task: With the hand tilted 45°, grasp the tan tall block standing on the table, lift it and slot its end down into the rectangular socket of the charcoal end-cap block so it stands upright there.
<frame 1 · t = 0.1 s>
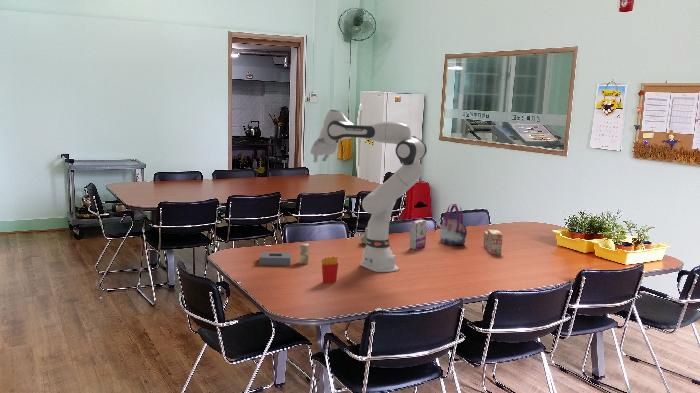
hand: (319, 161, 323), 52 cm above the table, tool tilted 20°, fingers open, 8 cm apart
air freshener: (369, 244, 360), on the table
beige boxy piece: (491, 250, 357), on the table
candy bar box: (417, 248, 355), on the table
handbag: (452, 243, 371), on the table
french fries: (329, 282, 278), on the table
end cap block: (275, 262, 309), on the table
tan tall block: (303, 262, 310), on the table
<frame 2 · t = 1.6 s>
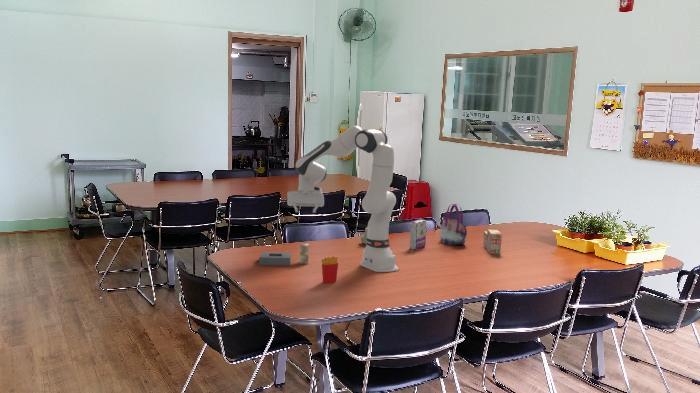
hand: (305, 211, 319), 25 cm above the table, tool tilted 45°, fingers open, 8 cm apart
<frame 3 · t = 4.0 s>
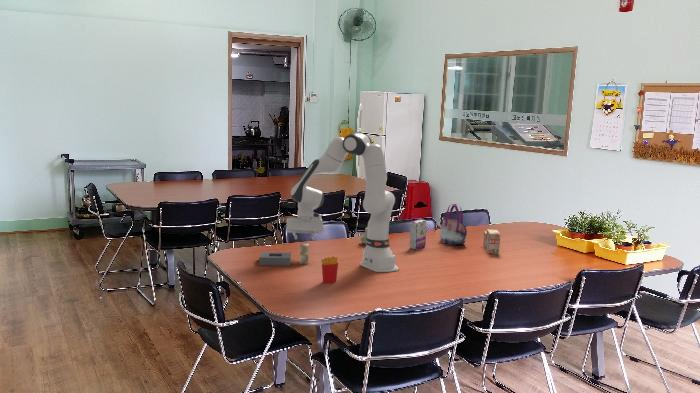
hand: (304, 238, 315), 11 cm above the table, tool tilted 45°, fingers open, 8 cm apart
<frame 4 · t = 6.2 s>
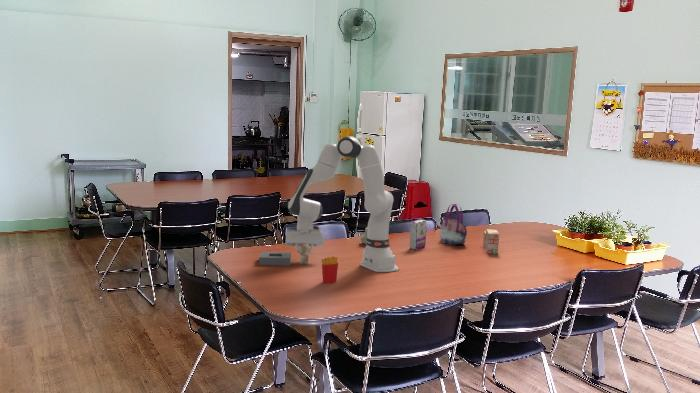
hand: (304, 252, 309), 6 cm above the table, tool tilted 45°, fingers closed on tan tall block, 4 cm apart
tan tall block: (303, 262, 310), on the table, touching gripper
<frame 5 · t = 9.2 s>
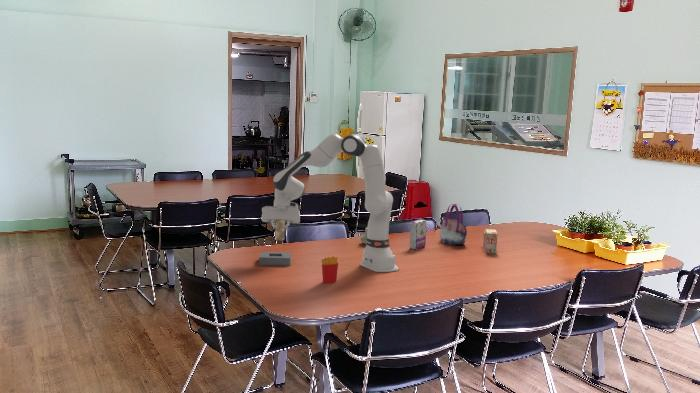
hand: (280, 228, 306), 18 cm above the table, tool tilted 45°, fingers closed on tan tall block, 4 cm apart
tan tall block: (279, 239, 308), point 12 cm above the table, touching gripper
when the fingers open (8 cm above the table, at t = 12.0 s): tan tall block drops 1 cm, resting on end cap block.
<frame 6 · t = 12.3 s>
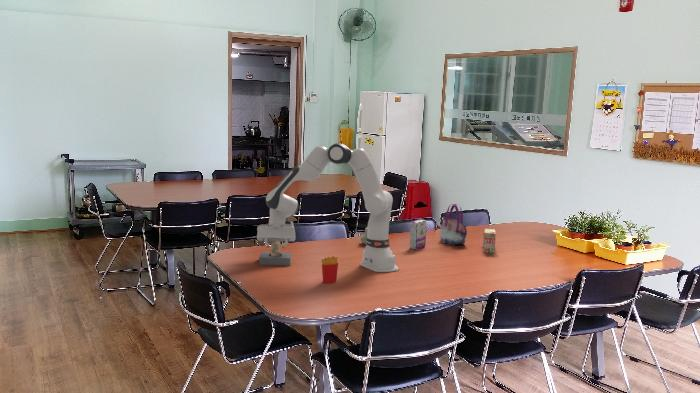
hand: (275, 247, 307), 8 cm above the table, tool tilted 45°, fingers open, 7 cm apart
tan tall block: (275, 260, 309), point 1 cm above the table, touching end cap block
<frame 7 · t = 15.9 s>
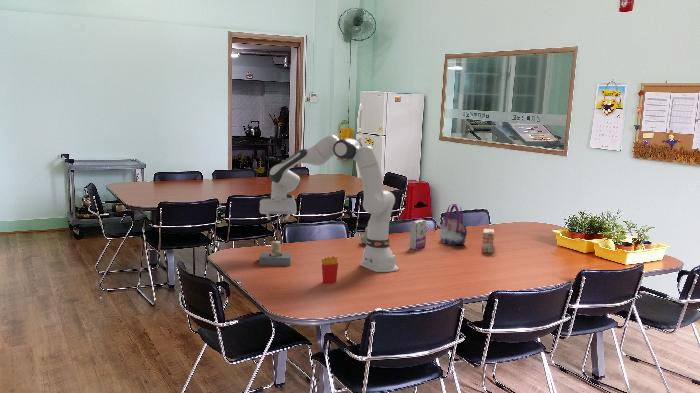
hand: (277, 219, 318), 21 cm above the table, tool tilted 45°, fingers open, 8 cm apart
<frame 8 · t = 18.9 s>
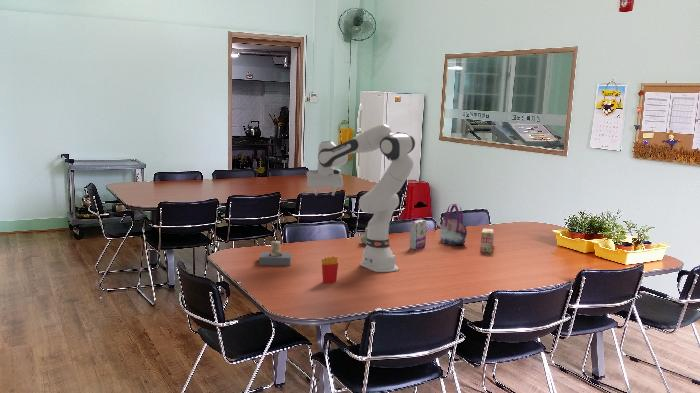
hand: (324, 195, 329), 33 cm above the table, tool pointing down, fingers open, 8 cm apart
at the end: tan tall block 0.1 cm off-centre on the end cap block, point 1.0 cm above the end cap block's base; tan tall block tilted 0°; the gripper is holding nothing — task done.
